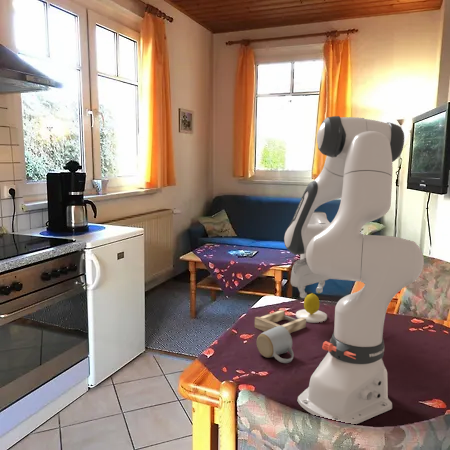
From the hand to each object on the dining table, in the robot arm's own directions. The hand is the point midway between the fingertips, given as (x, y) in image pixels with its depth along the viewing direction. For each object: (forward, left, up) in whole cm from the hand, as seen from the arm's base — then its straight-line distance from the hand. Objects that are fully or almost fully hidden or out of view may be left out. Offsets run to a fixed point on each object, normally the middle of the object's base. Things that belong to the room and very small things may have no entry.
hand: (311, 295), depth 151 cm
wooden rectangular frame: (-14, +1, -8) cm, 17 cm away
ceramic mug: (-32, -12, -9) cm, 35 cm away
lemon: (+1, 0, -8) cm, 8 cm away
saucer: (+1, 0, -8) cm, 8 cm away
